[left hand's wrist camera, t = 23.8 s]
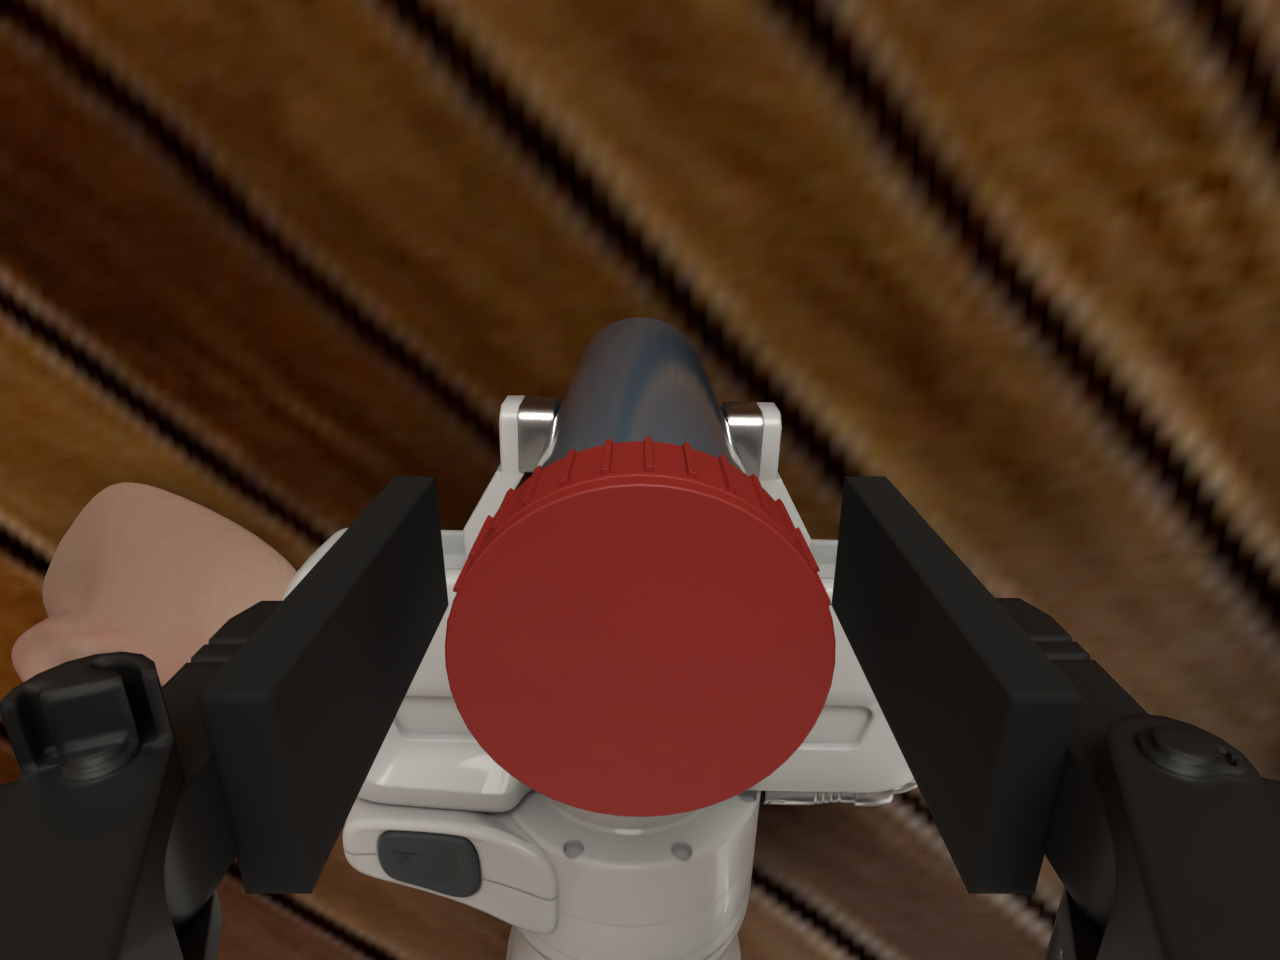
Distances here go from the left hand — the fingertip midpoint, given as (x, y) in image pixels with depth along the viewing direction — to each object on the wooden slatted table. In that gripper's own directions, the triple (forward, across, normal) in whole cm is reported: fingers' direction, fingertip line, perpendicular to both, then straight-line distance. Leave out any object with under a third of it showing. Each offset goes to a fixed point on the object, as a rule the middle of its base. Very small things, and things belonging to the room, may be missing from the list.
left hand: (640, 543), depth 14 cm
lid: (-4, 0, 0) cm, 4 cm away
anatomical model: (+13, +18, +11) cm, 25 cm away
